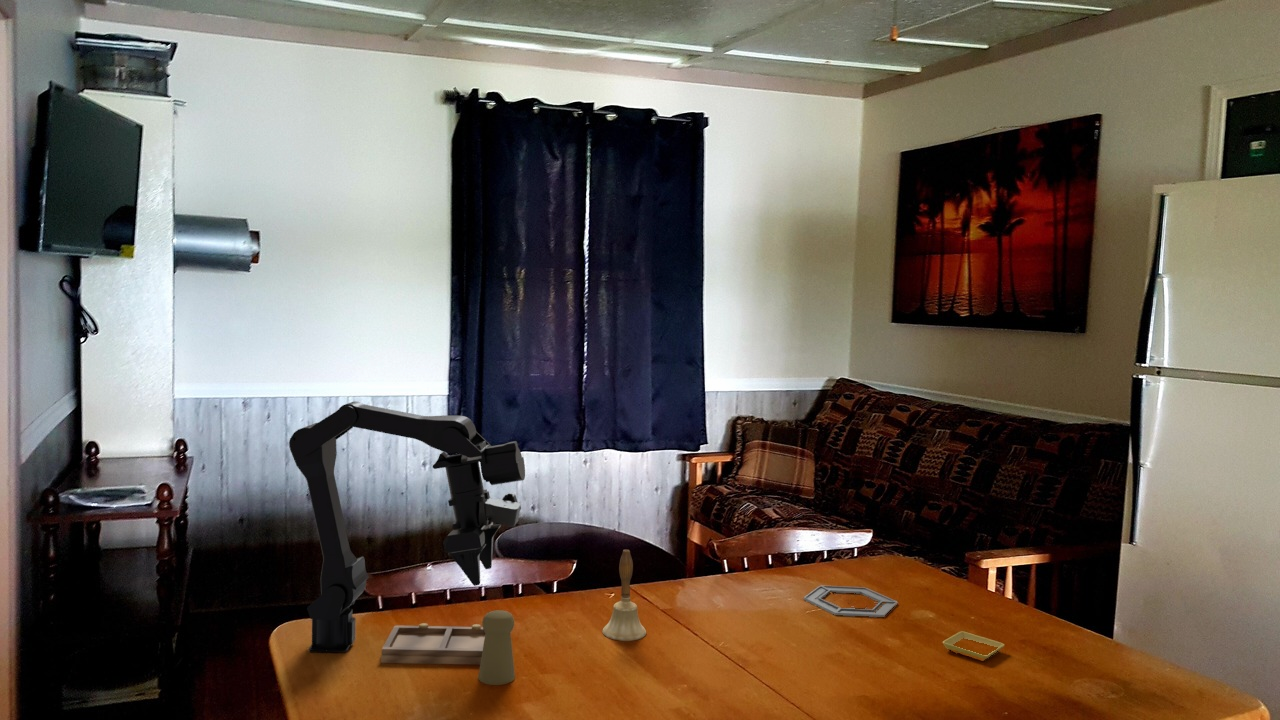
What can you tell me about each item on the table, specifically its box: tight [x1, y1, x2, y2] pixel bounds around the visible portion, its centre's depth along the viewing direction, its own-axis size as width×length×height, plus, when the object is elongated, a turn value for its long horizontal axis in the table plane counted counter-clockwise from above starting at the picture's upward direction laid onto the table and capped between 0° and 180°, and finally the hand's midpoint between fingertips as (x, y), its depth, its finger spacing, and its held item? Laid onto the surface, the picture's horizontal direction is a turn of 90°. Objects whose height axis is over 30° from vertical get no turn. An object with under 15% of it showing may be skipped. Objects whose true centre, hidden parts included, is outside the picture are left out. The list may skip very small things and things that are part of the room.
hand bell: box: [601, 549, 647, 642], centre depth 179 cm, size 8×8×16 cm
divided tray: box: [380, 622, 485, 666], centre depth 168 cm, size 20×12×3 cm, turn 93°
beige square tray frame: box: [942, 631, 1005, 659], centre depth 177 cm, size 9×9×2 cm
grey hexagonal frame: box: [803, 585, 899, 618], centre depth 202 cm, size 17×20×1 cm
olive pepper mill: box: [477, 609, 516, 686], centre depth 157 cm, size 6×6×11 cm
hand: (482, 576), depth 165 cm, fingers open, 9 cm apart
